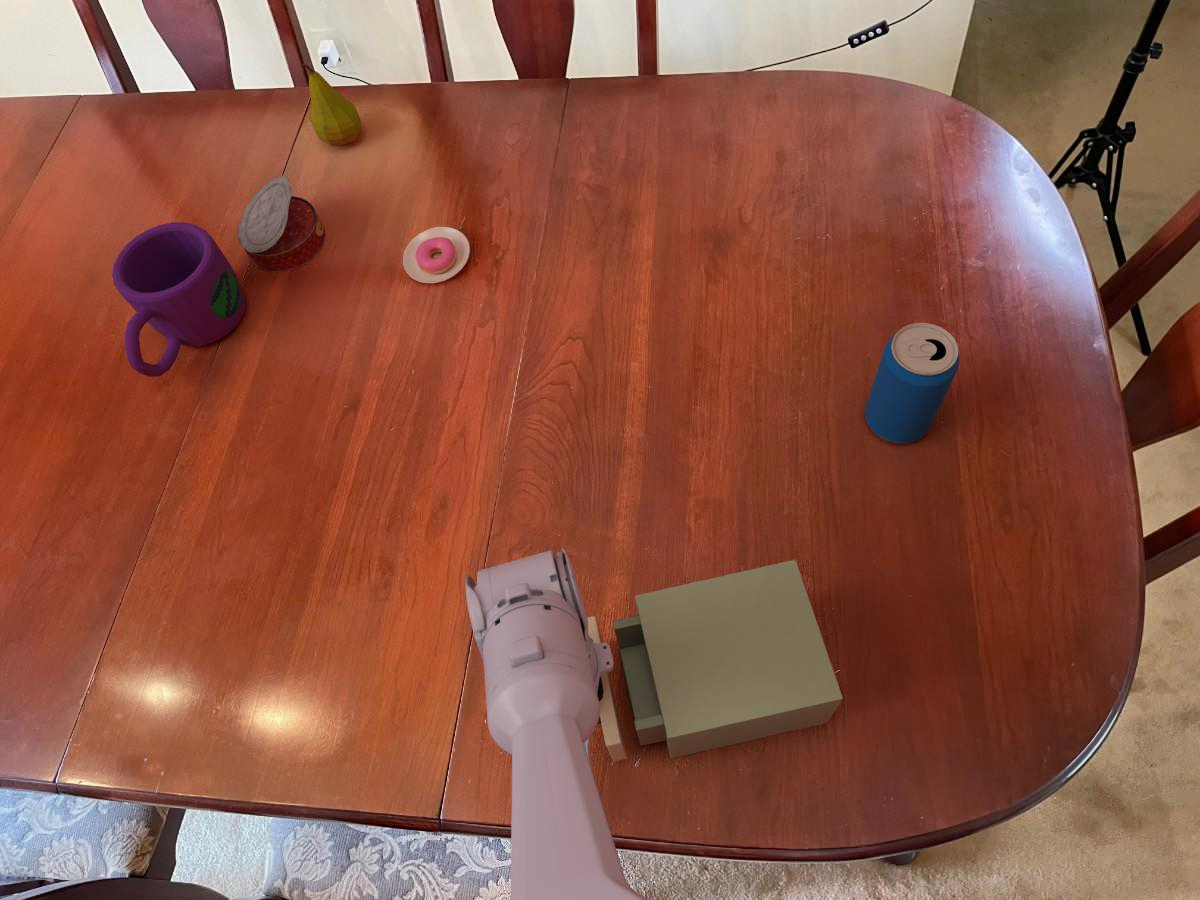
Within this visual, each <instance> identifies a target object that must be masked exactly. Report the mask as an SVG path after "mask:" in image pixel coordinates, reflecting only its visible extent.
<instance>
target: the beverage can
mask: <svg viewBox="0 0 1200 900" xmlns="http://www.w3.org/2000/svg"><path fill="white" fill-rule="evenodd" d="M959 367H960V354H959V346H958V343H957V341H956V339H955V337H954V336H953V335H952V333H950V332H949V331H948V330H946V329H944V328H943V327H942V326H939V325H936V324H933V323H930V322H928V323H927V322H914V323H911V324H907V325H905V326H903V327H901V328H900V329H899V330H898V331H897V332H896V333H895V334H893V335H892V336H891V337H889V340H888V341H887V342H886V345H885V347H884V349H883V353H882V355H881V359H880V361H879V365H878V368H877V370H876V374H875V377H874V379H873V382H872V385H871V389H870V392H869V395H868V397H867V401H866V404H865V408H864V417H865V420H866V423H867V425H868V427H869V428H870V429H871V431H872V432H873V433H874V434H875V435H877V436H878V437H880V438H881V439H883V440H885V441H888V442H891V443H895V444H909V443H913V442H916V441H918V440H920V439H921V438H923V437H925V436H926V435H927V434H928V432H929V431H930V429H931V427H932V426H933V423H934V421H935V418H936V417H937V415H938V412H939V411H940V409H941V407H942V404H943V402H944V400H945V398H946V395H947V393H948V391H949V389H950V387H951V385H952V383H953V380H954V379H955V376H956V374H957V372H958V369H959Z"/></svg>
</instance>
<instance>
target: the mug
mask: <svg viewBox="0 0 1200 900" xmlns="http://www.w3.org/2000/svg"><path fill="white" fill-rule="evenodd" d="M111 273H112V274H111V276H112V281H113V285H114V287H115V289H116V290H117V291H118V293H119V294H120V295H121V297H123V299H124V300H125V301H126V302H127V303H128V304H129V306H131V308H132V309H133V310H134V311H135V312H136V313H134V314H133V315H132V316H131V318H130V320H129V321H128V322H127V324H126V328H125V333H124V347H125V348H124V349H125V353H126V357H127V361H128V363H129V365H130V367H131V368H132V369H133V370H134V371H136V372H137V373H138V374H140V375H143V376H145V377H149V378H153V377H155V378H156V377H162V376H163V375H164V374H166V373H167V372H169V370H171V368H172V367H173V365H174V363H175V362H176V361H177V358H178V356H179V354H180V351H181V346H184V347H200V346H201V347H202V346H205V345H209V344H211V343H214V342H216V341H219V340H220V339H222V338H224V337H225V336H226V335H228V334H230V333H231V331H233V330H234V329H235V328H236V326H237V325H238V324H239V323H240V320H241V319H242V317H243V315H244V313H245V309H246V295H245V292H244V289H243V287H242V284H241V282H240V280H239V277H238V275H237V274H236V272H235V270H234V269H233V267H232V265H231V264H230V262H229V261H228V259H227V257H226V256H225V253H223V251H222V250H221V248H220V247H219V245H218V244H217V243H216V241H215V240H214V238H213V237H212V236H211V235H210V233H208V231H207V230H206V229H203V228H202V227H201V226H198V225H197V224H195V223H189V222H185V221H181V222H180V221H179V222H178V221H176V222H175V221H174V222H168V223H163V224H159V225H157V226H153V227H151V228H149V229H146V230H144V231H143V232H141V233H139V234H138V235H136V236H135V237H133V239H131V240H130V241H129V242H128V243H126V245H124V247H123V248H122V249H121V250H120V252H119V253H118V255H117V257H116V259H115V261H114V263H113V268H112V272H111ZM146 324H148V325H150V327H152V329H154V330H155V331H156V332H157V333H159V334H160V335H162V336H163V337H164V338H165V339H167V344H166V348H165V350H164V352H163V354H162V356H161V358H160V359H159V361H157V363H155V364H153V363H149V362H145V360H144V359H143V355H142V351H141V344H140V336H141V335H140V334H141V331H142V329H143V328H144V326H145V325H146Z"/></svg>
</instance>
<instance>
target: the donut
mask: <svg viewBox="0 0 1200 900" xmlns="http://www.w3.org/2000/svg"><path fill="white" fill-rule="evenodd" d="M465 220H466V216H465V215H464V216H463V219H462V220H461V226H460V227H459V230H458V229H456V228H453V227H450V226H436V227H431V228H428V229H426V230H424V231H423V230H422V231H421V232H419V233H418V234H417V235H416V236H414V237H413V238H412V239H411V240H410V241H409V243H408V244H407V245H406V246H405V250H404V251H403V255H402V266H403V269H404V271H405V273H406V274H407V275H408V277H409V278H411V279H412V280H414V281H417V282H419V283H424V284H438V283H442V282H444V281H447V280H449V279H451V278H453V277H454V276H456V275H458V273H459V272H460V271H462V270H463V269H464V267H465V265H466V264H467V263H468V260H469V257H470V253H471V247H470V242H469V240H468V238H467V237H466V235H465V234H464V233H463V232H462V231H460V230H463V226H464V222H465Z"/></svg>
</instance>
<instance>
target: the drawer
mask: <svg viewBox="0 0 1200 900" xmlns="http://www.w3.org/2000/svg"><path fill="white" fill-rule="evenodd" d="M587 619H588V635H589V637H590V638H591V639H592V640H593V642H594V643H602V642H604V639H603V636H602V633H601V630H600V626H599V623H598V620H597V616H596V615H593V616H587ZM612 624H613V629H614V633H615V636H616V641H617V644H618V648H619V652H620V658H621V662H622V668H623V671H624V676H625V681H626V685H627V690H628V694H629V699H630V704H631V708H632V714H633V718H634V720H633V723H634V728H635V732H636V735H637V738H638V742H639V745H640V746H641V747H643V746H647V745H651V744H655V743H661V742H664V741H666V740H667V737H666V730H665V726H664V722H663V717H662V713H661V709H660V704H659V700H658V696H657V691H656V687H655V683H654V678H653V674H652V670H651V665H650V661H649V657H648V652H647V648H646V644H645V639H644V635H643V631H642V626H641V622H640V618H639V615H638V614H637V615H632V616H628V617H624V618H619V619H615V620H612ZM601 679H602V684H603V690H604V693H603V698H602V700H601V701H599V706H600V715H599V720H598V723H597V725H600V724H601V729H602V733H603V740H604V743H605V744H604V745H605V747H606V749H607V752H608V753H609V755H610V758H611V760H612V761H613V762H615V763H616V762H619V761H623V760H627V759H628V755H627V750H626V745H625V740H624V736H623V735H624V734H623V730H622V725H621V721H620V720H621V719H620V717H619V711H618V705H617V703H616V697H615V691H614V687H613V683H612V682H613V681H612V676H611V671H609V672H605V673H603V674H602V675H601Z"/></svg>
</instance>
